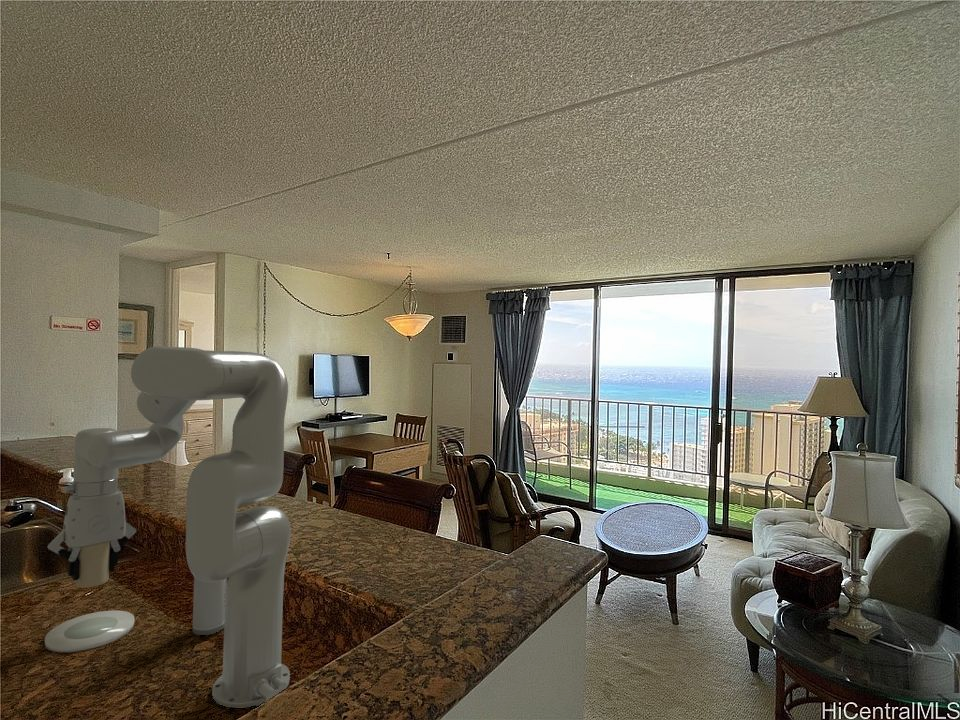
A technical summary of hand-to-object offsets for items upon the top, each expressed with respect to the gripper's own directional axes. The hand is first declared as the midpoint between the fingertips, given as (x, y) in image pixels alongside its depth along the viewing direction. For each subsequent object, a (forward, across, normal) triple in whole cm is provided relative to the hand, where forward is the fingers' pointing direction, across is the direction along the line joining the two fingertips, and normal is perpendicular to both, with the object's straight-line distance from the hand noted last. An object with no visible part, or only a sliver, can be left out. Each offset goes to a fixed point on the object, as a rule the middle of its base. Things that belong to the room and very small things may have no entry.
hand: (93, 573), depth 108 cm
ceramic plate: (+12, 0, 0) cm, 12 cm away
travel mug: (+12, +17, -16) cm, 27 cm away
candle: (+2, 0, 0) cm, 2 cm away
